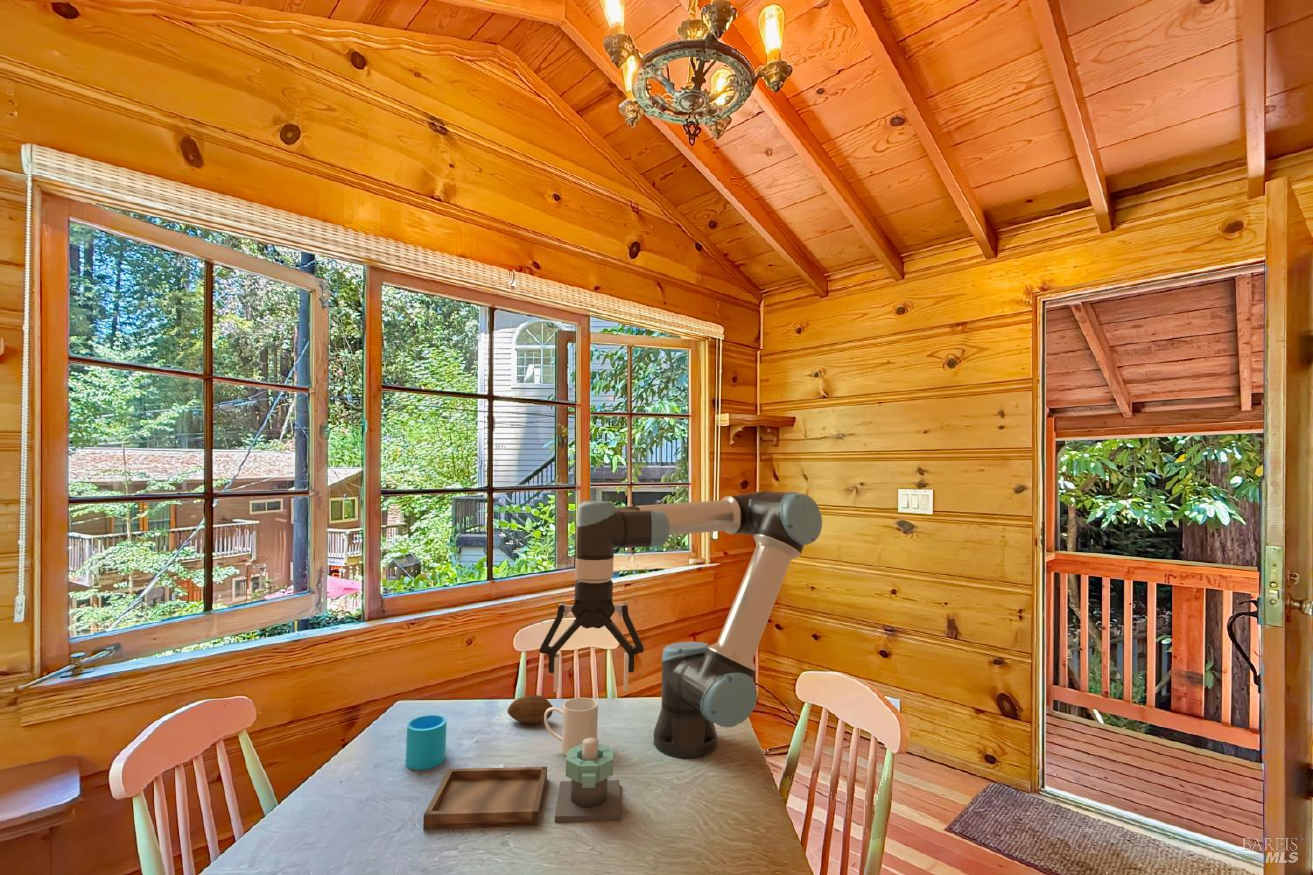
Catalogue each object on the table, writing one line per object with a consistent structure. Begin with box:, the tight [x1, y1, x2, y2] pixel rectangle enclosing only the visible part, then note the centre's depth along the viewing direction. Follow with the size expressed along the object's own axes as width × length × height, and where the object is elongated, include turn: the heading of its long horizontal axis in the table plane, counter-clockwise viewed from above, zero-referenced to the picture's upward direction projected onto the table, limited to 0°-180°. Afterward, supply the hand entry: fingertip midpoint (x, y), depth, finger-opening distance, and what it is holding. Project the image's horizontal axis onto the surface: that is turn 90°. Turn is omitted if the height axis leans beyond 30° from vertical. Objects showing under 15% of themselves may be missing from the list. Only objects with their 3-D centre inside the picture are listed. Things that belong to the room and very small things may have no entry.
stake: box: [554, 738, 622, 823], centre depth 112 cm, size 12×12×12 cm
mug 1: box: [405, 714, 448, 771], centre depth 129 cm, size 12×8×8 cm
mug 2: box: [543, 697, 599, 757], centre depth 132 cm, size 12×8×10 cm, turn 97°
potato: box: [507, 694, 554, 725], centre depth 147 cm, size 7×12×7 cm, turn 92°
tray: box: [422, 766, 548, 830], centre depth 111 cm, size 20×16×2 cm
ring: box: [565, 743, 614, 788], centre depth 111 cm, size 9×11×3 cm
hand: (591, 689), depth 113 cm, fingers open, 13 cm apart
